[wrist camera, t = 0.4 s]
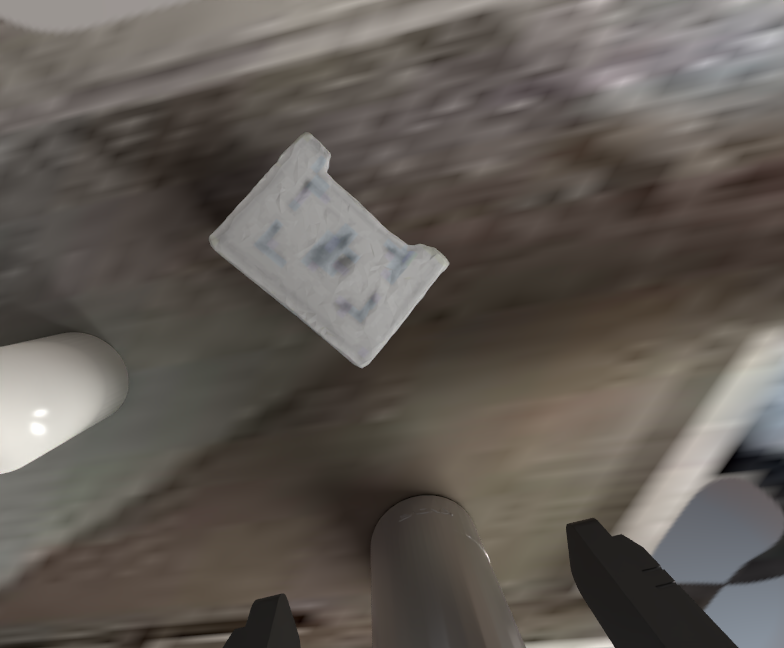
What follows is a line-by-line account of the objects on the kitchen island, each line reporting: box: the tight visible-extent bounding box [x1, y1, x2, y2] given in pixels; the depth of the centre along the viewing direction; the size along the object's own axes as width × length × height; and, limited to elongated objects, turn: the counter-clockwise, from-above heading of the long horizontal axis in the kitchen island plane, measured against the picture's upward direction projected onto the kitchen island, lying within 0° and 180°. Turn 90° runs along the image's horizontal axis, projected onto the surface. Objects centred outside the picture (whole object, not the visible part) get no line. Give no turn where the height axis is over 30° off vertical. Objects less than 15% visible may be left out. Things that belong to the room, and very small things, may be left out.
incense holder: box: [209, 132, 449, 368], centre depth 22 cm, size 10×8×10 cm
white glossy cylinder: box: [0, 332, 129, 474], centre depth 24 cm, size 7×7×7 cm
